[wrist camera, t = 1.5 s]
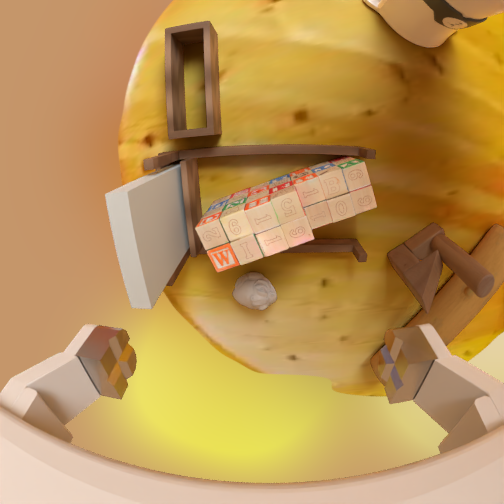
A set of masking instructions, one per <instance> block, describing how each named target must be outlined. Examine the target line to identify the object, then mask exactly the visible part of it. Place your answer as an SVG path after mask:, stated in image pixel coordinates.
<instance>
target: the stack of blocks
mask: <svg viewBox="0 0 504 504" xmlns="http://www.w3.org/2000/svg"><path fill="white" fill-rule="evenodd" d="M376 207H377V205H376V200H375V197H374V192H373V189H372V185H371V183H370V179H369V175H368V172H367V168H366V165H365V162H364V161H362V160H360V159H355V158H352V157H349V156H342V157H339V158H336V159H333V160H330V161H328V162H327V161H325V162H322V163H319V164H316V165H313V166H310V167H307V168H304V169H301V170H298V171H295V172H292V173H290V174H288V175H285V176H282V177H279V178H276V179H273V180H271V181H268V182H265V183H263V184H260V185H257V186H254V187H252V188H248V189H245V190H242V191H240V192H237V193H234V194H232V195H229V196H226V197H223V198H221V199H218V200H216V201H214V202H213V204H212V205H211V206H210V208H209V209H208V211H207V212H206V213H205V214H204V215H203V217H202V218H201V220H200V222H199V223H198V225H197V226H196V228H195V229H196V231H197V233H198V235H199V238H200V240H201V242H202V244H203V246H204V248H205V250H207V254H208V256H209V258H210V260H211V262H212V264H213V266H214V268H215V270H216V271H217V272H221V271H224V270H227V269H230V268H233V267H236V266H239V265H244V264H247V263H249V262H252V261H255V260H258V259H261V258H263V257H264V256H266V257H268V256H270V255H273V254H276V253H279V252H281V251H284V250H287V249H289V248H291V247H294V246H297V245H300V244H303V243H305V242H308V241H311V240H314V236H313V233H312V230H313V229H316V228H319V227H321V226H324V225H327V224H330V223H335V222H338V221H341V220H344V219H347V218H350V217H353V216H355V215H356V214H359V213H362V212H365V211H368V210H371V209H374V208H376Z"/></svg>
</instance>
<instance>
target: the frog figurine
mask: <svg viewBox="0 0 504 504" xmlns="http://www.w3.org/2000/svg"><path fill="white" fill-rule="evenodd" d="M232 295H233V297H234V299H235V300H236V301H237V302H238V303H239V304H241V305H243V306H246V307H248V308H250V309H259V310H265V309H266V308H267V307H268V306H270V305H271V304H273V303H274V302H275V301H276V299H277V294H276V290H275V288H274V287H273V286H272V284H271V282H270V281H269V280H268V279H267V278H265V277H264V276H263V275H262V274H260V273H257V272H249V273H246V274H245V275H243V276H241V277H240V278H238V279H237V281H236V284H235V289H234V290H233V292H232Z"/></svg>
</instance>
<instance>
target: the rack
mask: <svg viewBox="0 0 504 504" xmlns="http://www.w3.org/2000/svg"><path fill="white" fill-rule="evenodd" d="M375 153H376V150H373V149H368V148H364V147H355V146H338V145H306V144H275V145H242V146H224V147H210V148H198V149H188V150H178V151H169V152H163V153H159V154H158V156H155V157H152V158H148V159H145V160H144V169H145V170H151V169H156V171H157V170H160V169H162V168H165V167H167V166H170V163H171V162H174V161H176V160H179V159H185V160H183V161H180V167H181V178H182V188H183V197H184V206H185V215H186V223H187V231H188V239H189V246H190V247H189V249H188V250H187V252H186V253H185V255H184V257H183V258H182V260H181V261H180V263H179V265H178V266H177V268H176V270H175V271H174V273H173V274H172V276H171V278H170V279H169V281H168V283H167V284H166V286H172V285H173V284H174V282H175V280H176V278H177V276H178V275H179V273H180V271H181V269H182V268H183V266H184V264H185V262H186V261H187V259H188V257H189V256H190V254H191V257H197V255H198V254H207V250H205V248H204V246H203V244H202V242H201V240H200V238H199V235H198V233H197V231H196V229H195V228H196V226H197V225H198V223H199V222H200V220H201V218H202V208H201V198H200V187H199V175H198V163H197V158H200V157H213V156H229V155H250V154H333V155H354V156H361V157H364V158H367V159H375ZM306 252H353V254H354V255H355V257H356V259H357V260H358V262H366V260H367V253H366V252H365V251H364V249H363V248H362V246H361V245H360V244H359V242H358V241H357V239H314V240H311V241H308V242H305V243H303V244H300V245H297V246H294V247H291V248H289V249H287V250H284V251H281V252H279V253H306Z"/></svg>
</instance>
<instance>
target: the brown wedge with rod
mask: <svg viewBox="0 0 504 504" xmlns="http://www.w3.org/2000/svg"><path fill="white" fill-rule="evenodd" d="M387 256H388V258H389V260H390V262H391V264H392V266H393V268H394V270H395V271H396V272H397V273H398V275H399V276H400V277H401V279H402V280H403V281H404V283H405V284H406V285H407V287H409V289H410V291H411V292H412V293H413V295H414V296H415V298H416V299H417V300H418V302H419V303H420V305H421V306H422V308H423V309H424V310H425V312H426V313H427V314H428V313H429V310H430V307H431V304H432V301H433V298H434V295H435V292H436V289H437V286H438V282H439V279H440V275H441V272H442V268H443V264H442V261H443V262H444V263H445V264H446V265H447V266H448V267H449V268H450V269H451V270H452V271H453V272H454V273H455V274H456V275H457V276H458V277H459V278H460V279H461V280H462V281H463V282H464V283H465V284H466V285H467V286H468V287H469V288H470V289H471V290H472V291H473V292H474V293H475V294H476V295H477V296H478V297H481V298H483V297H485V296H487V295H488V294H489V293H490V292H491V290H492V288H493V286H494V282H495V279H494V276H493V275H492V274H491V273H490V272H489V271H488V270H487V269H486V268H484V267H483V266H482V265H481V264H480V263H479V262H477V261H476V260H475V259H474V258H473V257H472V256H470V255H469V254H468V253H467V252H465V251H464V250H463V249H462V248H460V247H459V246H458V245H457V244H455V243H454V242H453V241H451V240H450V239H449V238H448V237H446V236H445V233H444V230H443V228H441V227H440V226H438V225H437V224H436V223H434V222H433V223H431V224H430V225H429V226H427V227H426V228H424V229H423V230H421V231H420V232H419V233H417V234H416V235H414V236H413V237H411V238H410V239H408V240H407V241H405V242H404V244H401V245H399V246H398V247H396V248H395V249H393V250H392V251H390V252H389V253H388V254H387ZM418 259H419V260H422V261H419V260H418Z"/></svg>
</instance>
